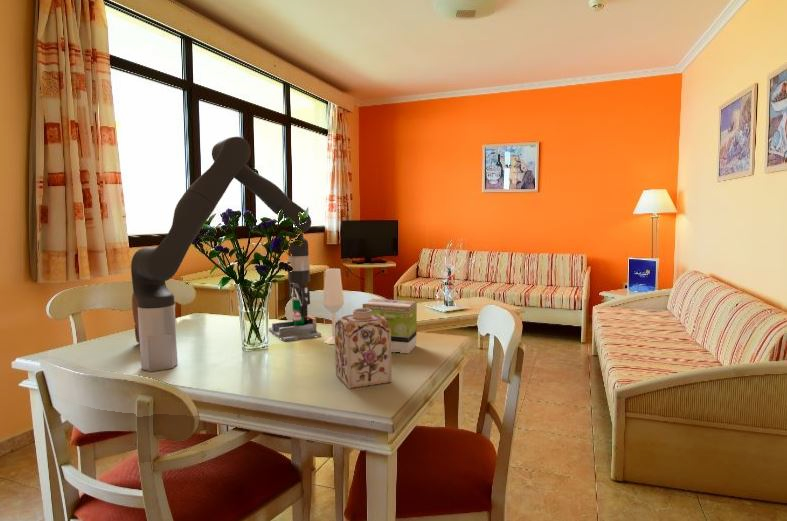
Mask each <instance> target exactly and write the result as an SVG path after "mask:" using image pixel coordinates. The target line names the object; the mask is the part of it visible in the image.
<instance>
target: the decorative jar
mask: <svg viewBox="0 0 787 521" xmlns="http://www.w3.org/2000/svg"><path fill="white" fill-rule="evenodd" d="M334 349H335V351H334V354H335V355H334V360H335V372H336V373H335V375H336V376H337V377H338V378H339V379H340V380H341V381H342V382H343V384H344V385H345V386H346V387H347V389H349V388H350V389H355V388H354V387H356V388H361V386H363V387H368V385H370V386H376V385H375V384H377V385H382V384H381V383H383V384H388V383H387V382H389V383H391V382H392V371H393V370H392V358H393V357H392V352H391V330H390V327H389V325H388V323H387V320H386V318H384V317H383V316H380V315H375V314H372V310H371V309H367V308H363V307H360V308H355V309H353V311H352V314H349V315H344V316H342V317H340V318H338V320H337V321H336V325H335V345H334Z"/></svg>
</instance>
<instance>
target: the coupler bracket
mask: <svg viewBox="0 0 787 521" xmlns="http://www.w3.org/2000/svg"><path fill="white" fill-rule="evenodd" d="M268 332H270V333H271V334H272V335H274V334H275V336H276V337H277V336H278V337H279V338H278V337H277V338H278V339H280V338H281V339H282V340H281V339H280V340H281V341H282V342H284V341H285V342H290V341H289V340H292V341H296V340H295V339H299V340H305V339H304V338H306V339H312V338H311V337H313V338H316V337H315V336H320V335H321V336H322V333H321V332H320V331H317V318H316V317H314V316H312V315H310V314H308V315H307V324H306V325H298V326H293V320H287V321H279V322H271V327H268Z"/></svg>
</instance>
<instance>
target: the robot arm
mask: <svg viewBox="0 0 787 521" xmlns="http://www.w3.org/2000/svg"><path fill="white" fill-rule="evenodd" d="M251 151H252V150H251V146H250V144H249V142H248V141H247V140H246V139H245V138H243V137H242V136H228V137H226V138H225V139H222V140H220V141H218V142H216V143H215V145H213V147H212V148H211V158H212V160H213V163H212V165H211V166H210V167H209V168H208V169H207V170H205V171H204V173H202V174H201V175H200V176H199V177H198V178H197V179H196V180H195V181H194V182H193V183H191V185H190V186H189V187H188V188H187V189H186V190H185V192H184V193H183V195H182V196H181V198H180V199H179V200H178V202H177V204H176V206H175V208H174V213H173V219H172V224H171V226H170V229H169V231H168V233H167V234H166V235H165V237H164V238H163V240H162V241H161V242H160V244H159V245H157V246H156V247H154V246H153V247H152V246H149V247H148V246H147V247H146V246H145V247H142V248H139V249H138V250H137V251H136V252H135V253H134V254H133V256H132V258H131V262H130V272H131V282H132V291H133V292H134V296H135V298H136V300H137V305H138V322H139V338H140V344H139V352H140V367H141V369H142V370H143V371H148V373H149V372H156V371H157V372H158V371H163V370H169V369H174V367H176V366H177V365H178V346H177V334H176V333H177V330H176V328H177V327H176V310H175V309H176V307H175V296H174V294H173V293H172V292H171V291H170V290H169V289H168V287H167V285H166V282H167V281H169V280H170V279H172V278H173V277H174V276H175V275H176V274H177V272H178V270H179V269H180V266H181V265H182V263H183V261H184V259H185V257H186V255H187V253H188V250H189V249H190V247H191V245H192V244H193V242H194V240H195V239H196V237H197V236H198V235H199V233H200V231H201V229H202V228H203V227H204V225H205V224H206V222H207V221H208V219H209V218H210V217H211V215H212V214H213V213H214V211H215V208H216V207H217V206H218V204H219V202H220V200H221V199H222V198H223V196H224V194H225V193H226V191H227V190H228V188H229V187H230V184H231V183H232V181H233V180H234V179H235V180H237V182H239V183H240V184H242V185H243V186H244V187H245V188H247V189H248V190H249V191H251V192H252V193H253V195H255V196H256V197H257V198H259V199H260V200H261V201H262V203H264V204H265V205H266V206H267V207H268V208H269V209H270V211H272V212H273V213H274V214H276V215H277V216H279V215H278V213H279V211H280V210H281V209H282V210H283V214H284V217H283V219H285V218H287V217H291V218H292V220H293V221H294V222H295V224H296V226H297V227H298V228H300V229H301V230H302V234H300V235H299V236H298V238H297V239H295V240H300V241H302V243H303V244H302V245H301V246H295V245H293V244H292V243H291V244H290V246H289V250H288V249H287V252H289V253H291V254H292V256H291V257H290V256H288V255H287V263H288V262H291V263H290V264H291V266H292V267H293V270H292V272H288V271H287V280H288V283H289V300H291V302H292V299H293V296H296V297H297V299H298V301H300V305H301V316H302V317H305V316H307V315H309V314H308V306H309V305H311V295H310V294H311V293H310V290H311V289H310V287H309V286H307V287H306V283H309V282H310V281H311V275H310V274H311V272H310V270H311V269H310V268H311V267H310V256H309V255H310V254H309V242H308V240H307V239H306V238H304V232H306V231H308V230H309V229H311V226H312V219H311V216H310V214H308V217H307V222H306V223H304V224H301V225H299V216H298V212H301V213H303V212H305V211H306V210H305V209H304V208H302V207H301V206H300V205H299V204H297V203H296V202H294V201H292V200H291V198H290V197H288V195H286V193H285V192H283V191H282V189H281V188H280V187H278V185H276V184H275V183H274V182H272V181H271V180H269V179H268V178H266V177H264V176H262V175H260V174H259V173H257V172H256V171H255V170H253V169H252V168H250V166H249V165H247V163H248V162H249V160H250V157H251V153H252V152H251ZM282 210H281V211H282ZM291 241H293V240H291ZM133 292H132V293H133Z"/></svg>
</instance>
